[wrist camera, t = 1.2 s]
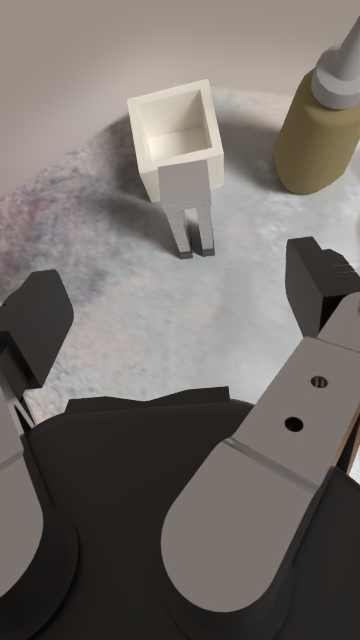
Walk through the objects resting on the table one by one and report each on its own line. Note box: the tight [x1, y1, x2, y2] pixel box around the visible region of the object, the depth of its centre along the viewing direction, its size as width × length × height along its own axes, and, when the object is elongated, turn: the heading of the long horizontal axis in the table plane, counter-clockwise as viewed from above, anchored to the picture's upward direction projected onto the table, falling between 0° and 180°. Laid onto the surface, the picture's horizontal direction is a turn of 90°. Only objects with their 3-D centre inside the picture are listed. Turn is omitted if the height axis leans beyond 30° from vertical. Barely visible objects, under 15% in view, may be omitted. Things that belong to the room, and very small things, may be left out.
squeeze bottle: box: [273, 16, 360, 195], centre depth 31 cm, size 8×8×18 cm
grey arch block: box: [158, 159, 215, 259], centre depth 34 cm, size 4×3×14 cm
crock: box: [127, 79, 224, 203], centre depth 39 cm, size 9×9×6 cm
